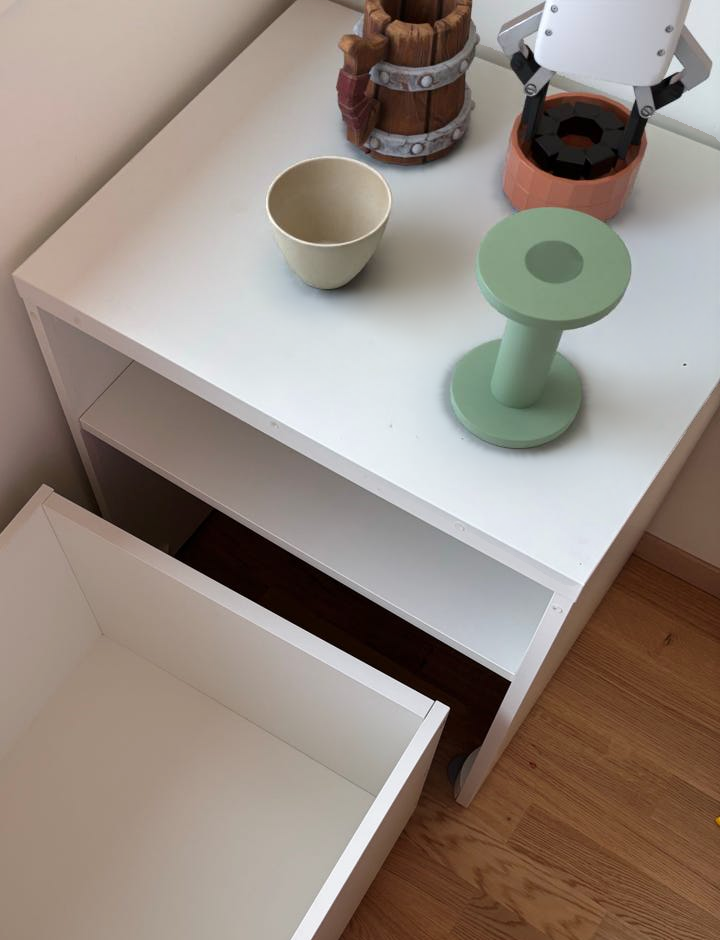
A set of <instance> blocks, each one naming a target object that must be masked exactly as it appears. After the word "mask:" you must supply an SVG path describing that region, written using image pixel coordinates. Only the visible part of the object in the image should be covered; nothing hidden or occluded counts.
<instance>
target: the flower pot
mask: <svg viewBox="0 0 720 940" xmlns="http://www.w3.org/2000/svg"><path fill="white" fill-rule="evenodd" d="M392 208H393V194H392V190H391V187H390V185H389V183H388V182H387V181H386V179H385V177H384V176H383V174H381V173H380V172H379V171H378V170H376V169H375V168H374V167H372V166H371V165H369V164H367V163H365V162H363V161H361V160H357V159H355V158H351V157H347V156H340V155H322V156H316V157H311V158H307V159H303V160H301V161H298V162H296V163H294V164H292V165H290V166H288V167H287V168H285V169H284V170H283V171H281V172H280V173H279V174H278V175H277V176H276V177H275V178H274V179H273V181H272V183H270V186H269V187H268V190H267V192H266V197H265V209H266V214H267V220H268V224H269V227H270V230H271V231H270V232H271V233H272V236H273V239H274V242H275V244H276V246H277V248H278V250H279V252H280V254H281V256H282V258H283V259H284V260H285V262H286V263H287V265H288V267H290V268H291V270H292V271H293V272H294V274H295V275H296V276H297V277H298V278H299V279H300V280H301V281H302V282H304V283H305V284H306V285H308V286H310V287H312V288H315V289H318V290H319V289H320V290H333V289H337V288H340V287H343V286H345V285H346V284H348V283H349V282H351V280H352V279H354V278H355V277H356V276H357V275H358V274H359V273H360V272H361V271H362V270H363V268H364V267H365V266H366V264H367V263H368V262H369V260H370V259H371V257H372V256H373V255H374V253H375V251H376V250H377V248H378V246H379V244H380V242H381V240H382V238H383V236H384V233H385V230H386V228H387V226H388V223H389V219H390V216H391V212H392Z"/></svg>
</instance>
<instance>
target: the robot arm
mask: <svg viewBox="0 0 720 940" xmlns="http://www.w3.org/2000/svg"><path fill="white" fill-rule="evenodd" d="M691 2H692V0H545V1H543V2H541V3H539V4H537V5H535V6H534V7H532V8H530V9H528V10H527V11H525V12H523V13H521V14H520V15H517V16H516V17H513V18H512V19H511V20H509V21H507V22H505V23H504V24H502V26H501V27H500V29H499V33H498V35H497V36H496V37H497V38H496V40H497V43H498V45H499V46H500V48H501V50H502V52H503V53H504V55H505V57H506V58H507V59H508V60H509V62H510V63H509V66H510V69H511V70H512V71H513V73H514V74H515V75H516V77H517V78H518V80H519V81H520V82H521V84H522V85H523V88H522V90H523V93H524V95H525V98H524V99H525V100H524V103H523V108H522V111H523V112H522V111H521V112H522V117H521V121H520V123H524V124H528V125H527V129H526V134H525V138H524V140H525V141H530V140H533V138H534V134H535V131H536V128H537V125H538V123H539V120H540V117H541V115H542V111H543V107H544V102H545V98H546V96H547V94H548V90H549V85H550V83H551V79H552V78H553V77H554V76H555V75H556V74H557V73H560V74H566V75H569V76H570V75H571V76H576V77H580V78H586V79H592V80H597V81H603V82H609V83H614V84H619V85H624V86H632V89H633V94H634V101H633V105H632V107H631V110H630V111H631V113H630V116H629V119H628V122H627V125H626V128H625V132H624V135H623V138H622V142H621V145H620V148H619V151H618V154H617V157H619V159H621V160H625V158H626V155H627V153H628V150H629V147H630V144H631V145H637V146H639V144H640V141H641V138H642V135H643V132H644V130H645V131H646V127H647V124H648V121H649V119H650V118H652V117H653V116H654V115H655V113H656V111H658V110H660V109H662V108H664V107H666V106H669V104H671V103H673V102H675V101H677V100H679V99H680V98H681V97H682V96H683V94H684V93H686V92H689V91H691V90H692V89H694V88H696V87H697V86H699V85H700V84H702V83H704V82H705V81H707V80H708V79H709V77H710V76H711V72H712V68H713V60H712V59H711V58H710V57H709V54H707V52H706V51H705V49H703V47H702V46H701V44H700V43H699V42H698V41H697V39H696V38H695V36H694V35H693V34H692V33H691V31H690V30H689V28H688V27H687V26H686V24H685V22H686V19H687V17H688V14H689V13H688V12H689V9H690V6H691ZM534 33H537V34H536V38H535V44H534V50H533V51H532V49H531V47H530V46H529V45H528V44H526V43H525V40H524V39H525V38H527V37H530V36H531V35H533V34H534ZM674 57H675V58H676V59H677V61H678V62H679V63H680V64H681V66H682V67H683V68H682V69H681V71H676V72H674V73H672V74H670V75H668V76H666V75H667V72H668V70H669V68H670V66H671V63H672V60H673V59H674Z"/></svg>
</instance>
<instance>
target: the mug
mask: <svg viewBox="0 0 720 940" xmlns="http://www.w3.org/2000/svg"><path fill="white" fill-rule="evenodd" d="M472 10H473V0H365V3H364V13H363V14H362V16H361V17H360V19H359V20H358V22H357V23H355V25H353V29H352V31H353V33H352V34H351V33H350V34H349V33H348V34H344V35H342V37H341V38H340V40H339V41H338V43H337V47H338V48H339V50H340V51H342V52H343V66H342V67H341V68H339V72H338V76H337V81H336V86H335V89H336V92H337V105H338V109H339V110H340V112H341V119H342V122H343V123H344V125H345V126H346V140H347V141H348V142H349V143H351V144H352V145H354V146H356V147H358V148H359V149H360V150H361V151H362V152H364V153H365V154H368V153H369V152H370V157H372V158H373V159H376V160H379V161H381V162H383V163H386V164H392V165H401V166H411V165H412V166H413V165H418V164H422V163H423V161H424V159H425V160H426V161H427V162H430V161H434V160H436V159H438V158H440V157H443V156H445V155H446V154H447V153H448V152H449V151H451V150H452V149H453V148H455V147H456V146H457V144H458V143H459V141H460V139H461V137H462V136H463V135H464V133H465V131H466V130H467V128H468V126H469V124H470V122H471V118H472V112H473V111H474V110H475V109H476V102H475V101H474V100H473V99H472V90H471V88H470V87H469V85H468V83H467V81H466V77H467V71H468V70H469V68H470V66H471V65H472V63H473V61H474V59H475V57H476V47H477V46H478V45H479V44H480V42H481V36H480V35H479V33H478V32H477V26H476V24H475V22H474V21H473V19H472Z"/></svg>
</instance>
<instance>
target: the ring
mask: <svg viewBox="0 0 720 940" xmlns="http://www.w3.org/2000/svg"><path fill="white" fill-rule="evenodd" d="M602 108H603V106H600V105H594V104H589V103H584V102H578V101H576V102H575V105H574V107H573V106H572V105H571V104H570V103H569V102H566V103H563V104H561V105H558V106H556V107H553V108H551V109H548V110H545V112H544V116H543V115H541V117H540V120H539V123H538V125H537V128H536V131H535V134H534V138H533V140H532V143H531V147H530V151H531V152H532V154H531V157H532V158H533V160H534V161H535V162H536V163H537V164H538V165H539V167H540V168H541V169H542V170H543V171H544V172H547V173H548V172H550V171H553V173H552V175H553V176H555V177H560V178H565V179H570V180H575V181H580V178H581V176H582V177H583V178H584V179H585V180H592V179H595V178H597V177H600V176H602V175H605V174H607V173H610V171H611V168H615V166H616V163H617V160H618V157H617V154H618V151H619V148H620V145H621V142H622V138H623V135H624V132H625V131H623V130H624V127H625V126H624V124H623V123H622V122H621V121H620V120H619V119H618V118H617V117H616V116H615V115H614V114H613V113H612V112H611V111H610V110H607V111H604V112H602V113H601V111H602ZM570 134H573V135H578V136H583V137H588V138H589V139H590V140H591V141H592V142H593V143H594V144H595V145H593V146H591V147H588V148H586V149H582V148H577V147H572V146H566V145H565V144H564V143H563V141H562V140H561V139H560V138H562V137H565V136H568V135H570Z"/></svg>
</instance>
